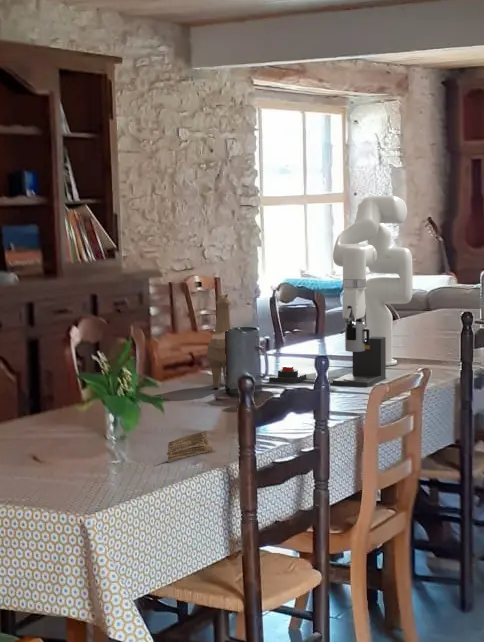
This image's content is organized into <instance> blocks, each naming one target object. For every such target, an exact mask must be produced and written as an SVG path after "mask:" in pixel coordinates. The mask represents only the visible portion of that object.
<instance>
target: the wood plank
mask: <svg viewBox="0 0 484 642" xmlns="http://www.w3.org/2000/svg"><path fill="white" fill-rule="evenodd" d="M212 451H213V447H212V446H211V445H210V442H209V440H208V436H207V430H205V431H202V432H197V433H193V434H189V435H186V436H185V435H184V436H183V437H180V438H176V439H173V440H170V441H169V442H168V444H167V453H166V455H167V463H172V462H174V461H177V460H180V459H184V458H187V457H192V456H196V455H200V454H205V453H209V452H212Z"/></svg>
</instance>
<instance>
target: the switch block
mask: <svg viewBox="0 0 484 642" xmlns="http://www.w3.org/2000/svg"><path fill="white" fill-rule="evenodd" d="M305 380H307V373H300V372H299V370H298V369H296V368H293V371H282V368H281V369H278V370H277V374H274V375H271V376H269V377H268V381H269V383H273V384H274V383H277V384H289V385H290V384H293V385H295V384H296V383H300V382H302V381H305Z"/></svg>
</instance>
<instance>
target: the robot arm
mask: <svg viewBox="0 0 484 642" xmlns="http://www.w3.org/2000/svg"><path fill="white" fill-rule="evenodd" d="M407 216H408V207H407V204H406V201H405V200H404V199H402V198H400V197H399V196H396V195H368V196H365V197H363V198H361V200H360V202H359V203H358V205H357V211H356V215H355V219H354V223H352V224H350V225H349V226H347V227H346V228H345V229H343V230H342V231H340V233H338V235H337V237H336V238H335V239H336V240H335V243H334V247H333V251H332V260H333V263H334V264H335V266H338V267H342V289H343V294H342V309H341V311H342V314H341V315H342V316H341V317H342V319H343V320H345V323H346V339H347V340H356V328H355V324H356V322H363V323H365V329H369V336H371V337H386V367H387V366H388V367H389V366H395V365H397V364H398V360H396V359H394V358H393V355H394V352H393V351H394V349H393V347H394V346H393V345H394V344H393V340H394V339H393V337H394V336H393V334H394V333H393V332H394V331H393V325H394V323H393V322H394V321H393V314H392V312H391V310H390V309H389V308H388V307H387V305H406V304H409V303H410V302H411V301H412V298H413V286H414V285H413V284H414V283H413V281H414V280H413V256H412V252H411V250H410V249H409V248H407V247H401V246H400V247H399V246H395V247H393V246H392V232H391V231H390V229H389V227H388V226H387V224H403V223H404V222H405V221H406V219H407ZM366 241H367V243H364V242H366ZM367 268H368V270H369V272H371V273H373V274H391V275H393V274H394V275H395V274H396V275H398V277H386V276H384V277H383V276H375V277H370V278H368V279H367ZM364 319H365V322H364ZM352 322H353V323H352Z"/></svg>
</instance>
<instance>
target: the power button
mask: <svg viewBox="0 0 484 642" xmlns="http://www.w3.org/2000/svg"><path fill="white" fill-rule="evenodd" d="M281 369H282V371H293V369H294V365H282V367H281Z"/></svg>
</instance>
